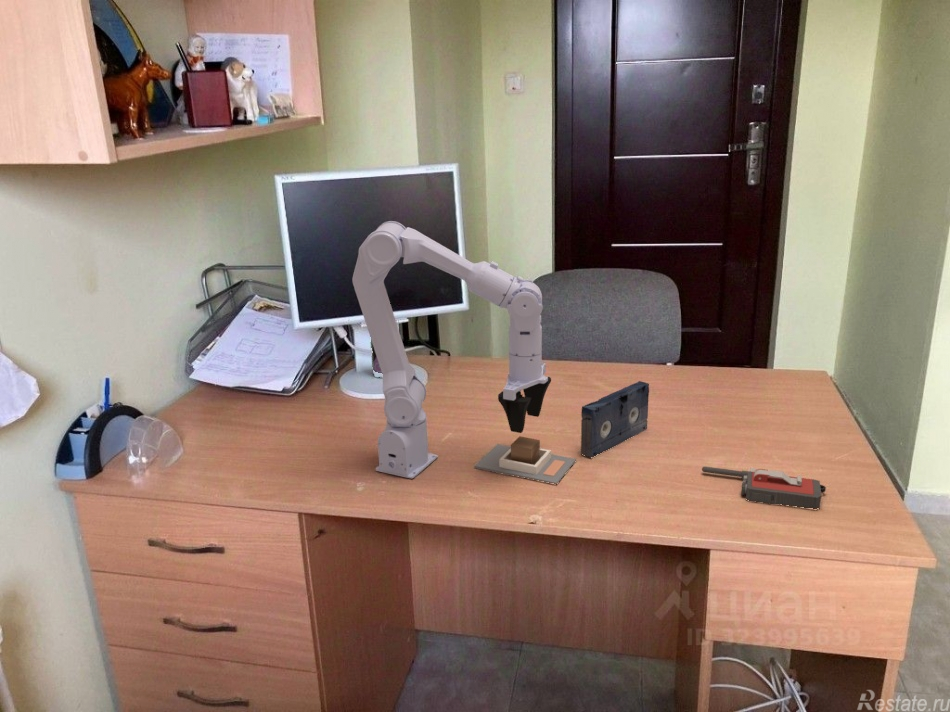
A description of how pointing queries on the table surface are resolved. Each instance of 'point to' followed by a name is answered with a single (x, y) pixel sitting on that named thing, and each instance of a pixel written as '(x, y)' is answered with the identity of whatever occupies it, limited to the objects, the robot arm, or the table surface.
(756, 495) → the walkie-talkie
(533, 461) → the walnut block
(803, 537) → the table surface
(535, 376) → the robot arm
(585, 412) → the vhs cassette tape
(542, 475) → the pocket board
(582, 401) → the table surface
